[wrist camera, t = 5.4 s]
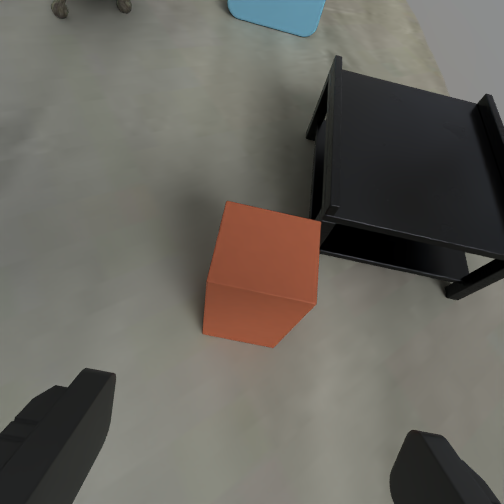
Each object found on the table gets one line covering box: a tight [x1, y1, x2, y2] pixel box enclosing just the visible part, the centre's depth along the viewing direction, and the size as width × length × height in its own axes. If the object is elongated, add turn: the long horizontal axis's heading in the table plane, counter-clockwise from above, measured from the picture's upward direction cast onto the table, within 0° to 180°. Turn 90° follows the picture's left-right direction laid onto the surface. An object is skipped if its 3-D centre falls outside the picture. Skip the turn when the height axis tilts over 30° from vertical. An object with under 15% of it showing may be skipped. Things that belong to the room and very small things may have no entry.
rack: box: [306, 55, 504, 300], centre depth 26 cm, size 14×16×8 cm
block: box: [202, 201, 321, 348], centre depth 19 cm, size 5×5×9 cm
